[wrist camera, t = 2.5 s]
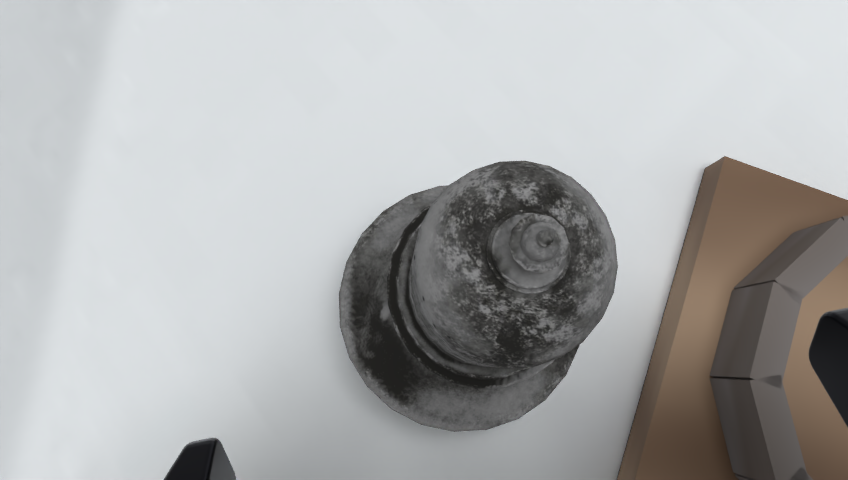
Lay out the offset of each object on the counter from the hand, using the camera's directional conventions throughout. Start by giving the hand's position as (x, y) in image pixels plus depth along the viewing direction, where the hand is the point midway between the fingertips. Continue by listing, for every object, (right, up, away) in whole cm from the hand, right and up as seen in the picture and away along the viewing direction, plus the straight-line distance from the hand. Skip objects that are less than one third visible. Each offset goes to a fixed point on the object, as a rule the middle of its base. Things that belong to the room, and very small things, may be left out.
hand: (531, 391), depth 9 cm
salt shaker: (-1, 0, +10) cm, 10 cm away
